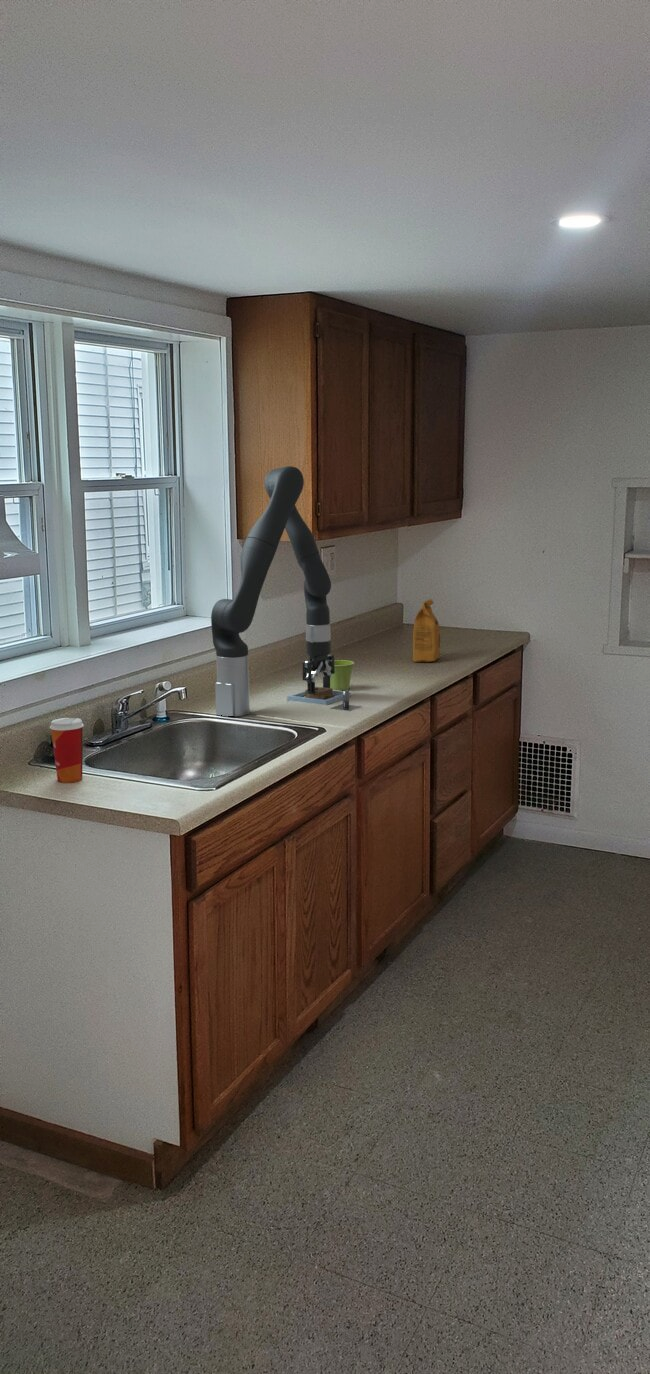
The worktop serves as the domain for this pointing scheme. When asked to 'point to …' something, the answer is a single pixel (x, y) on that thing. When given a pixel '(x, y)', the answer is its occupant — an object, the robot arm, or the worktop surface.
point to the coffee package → (426, 635)
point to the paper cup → (68, 748)
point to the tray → (299, 698)
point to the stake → (346, 703)
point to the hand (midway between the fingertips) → (319, 691)
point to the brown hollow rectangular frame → (320, 693)
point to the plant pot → (341, 675)
